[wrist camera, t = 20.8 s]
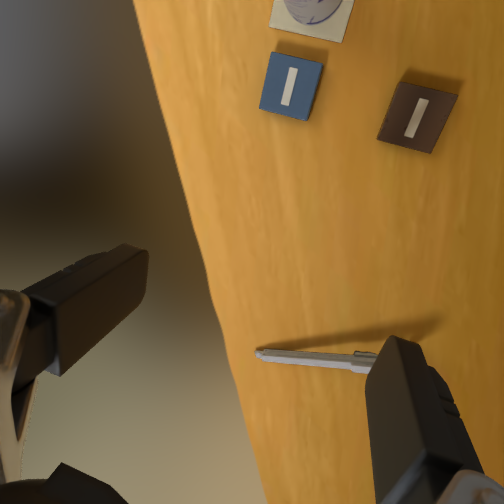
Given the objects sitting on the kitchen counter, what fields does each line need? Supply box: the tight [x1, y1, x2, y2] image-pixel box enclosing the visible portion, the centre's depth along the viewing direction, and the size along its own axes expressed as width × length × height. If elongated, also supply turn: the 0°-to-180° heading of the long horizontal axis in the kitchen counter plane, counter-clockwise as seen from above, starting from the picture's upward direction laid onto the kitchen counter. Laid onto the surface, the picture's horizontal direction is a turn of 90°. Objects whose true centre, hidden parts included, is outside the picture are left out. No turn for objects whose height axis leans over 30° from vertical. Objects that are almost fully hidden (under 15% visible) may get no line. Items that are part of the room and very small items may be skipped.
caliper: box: [254, 349, 378, 374], centre depth 38 cm, size 20×1×6 cm, turn 107°
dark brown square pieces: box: [376, 82, 458, 154], centre depth 25 cm, size 5×21×1 cm, turn 167°
